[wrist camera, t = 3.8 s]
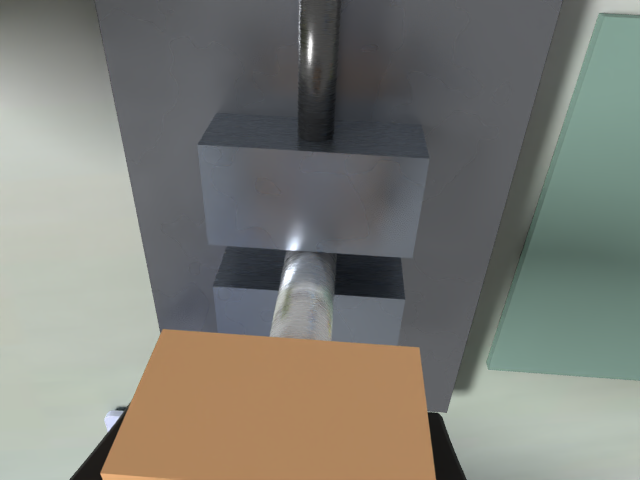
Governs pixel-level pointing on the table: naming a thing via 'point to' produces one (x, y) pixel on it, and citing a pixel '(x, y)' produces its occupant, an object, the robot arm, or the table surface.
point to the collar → (274, 412)
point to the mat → (585, 229)
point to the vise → (325, 161)
